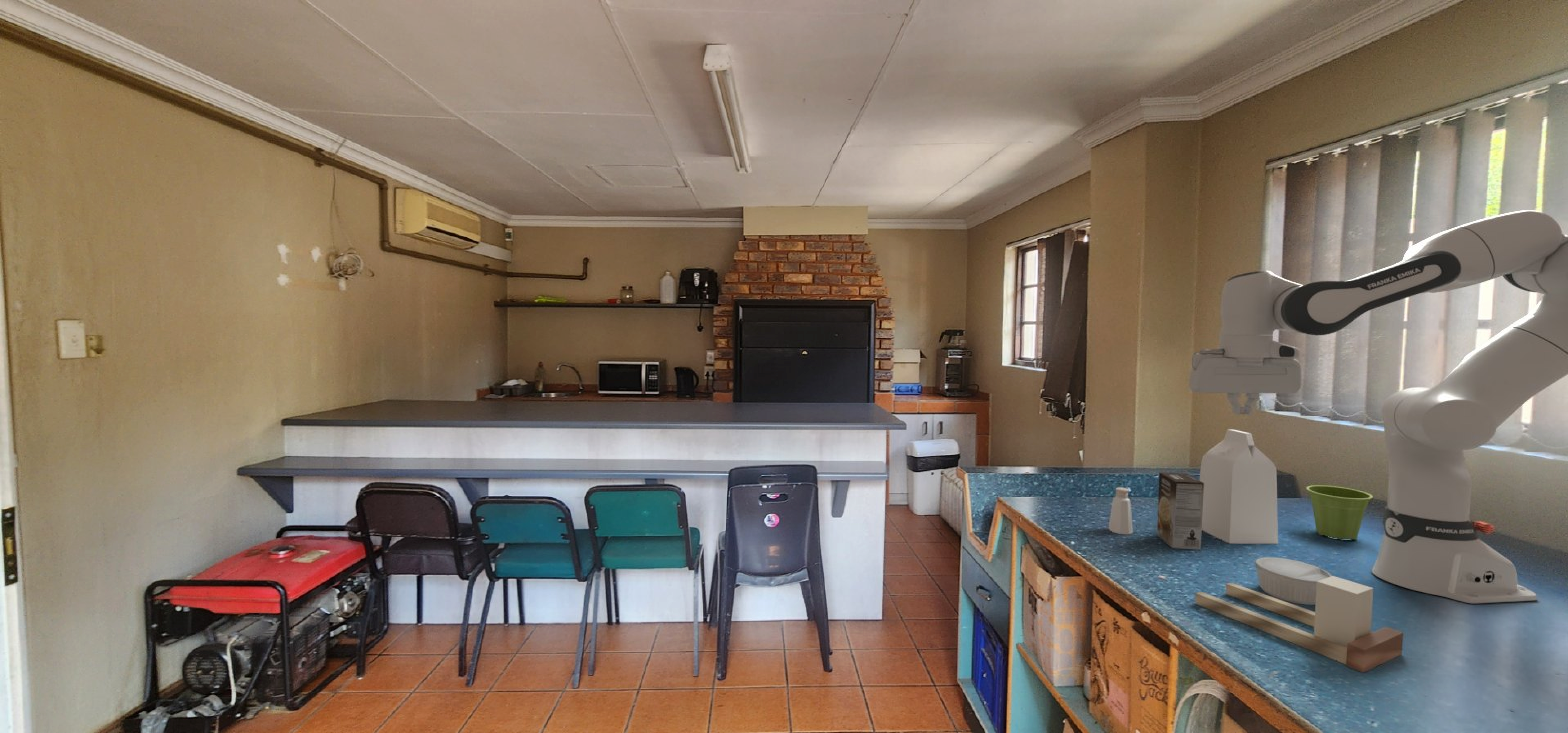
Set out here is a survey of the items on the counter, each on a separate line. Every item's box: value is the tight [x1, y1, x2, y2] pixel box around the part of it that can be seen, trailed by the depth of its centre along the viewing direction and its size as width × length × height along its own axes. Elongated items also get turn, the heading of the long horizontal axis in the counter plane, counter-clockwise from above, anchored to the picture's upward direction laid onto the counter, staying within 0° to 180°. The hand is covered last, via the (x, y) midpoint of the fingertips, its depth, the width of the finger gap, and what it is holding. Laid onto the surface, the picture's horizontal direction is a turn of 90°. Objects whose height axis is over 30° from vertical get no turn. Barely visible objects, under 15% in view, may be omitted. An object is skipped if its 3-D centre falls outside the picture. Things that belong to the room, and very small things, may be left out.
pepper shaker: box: [1108, 487, 1134, 535], centre depth 147 cm, size 5×5×11 cm
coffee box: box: [1156, 471, 1204, 551], centre depth 139 cm, size 9×6×16 cm
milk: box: [1199, 428, 1279, 545], centre depth 144 cm, size 12×12×26 cm
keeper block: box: [1313, 575, 1374, 647], centre depth 93 cm, size 5×5×10 cm
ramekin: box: [1254, 556, 1332, 606], centre depth 112 cm, size 11×11×5 cm
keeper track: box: [1194, 582, 1404, 674], centre depth 100 cm, size 24×12×4 cm, turn 24°
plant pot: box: [1305, 484, 1374, 540], centre depth 143 cm, size 12×12×11 cm
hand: (1242, 414), depth 123 cm, fingers closed
